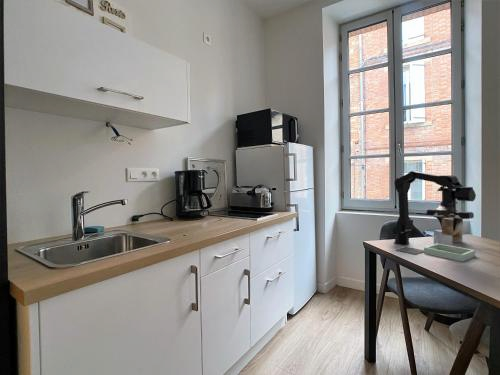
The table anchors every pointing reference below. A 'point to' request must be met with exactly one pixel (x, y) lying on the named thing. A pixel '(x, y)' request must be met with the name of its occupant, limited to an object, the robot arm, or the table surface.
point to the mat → (410, 250)
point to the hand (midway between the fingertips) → (449, 230)
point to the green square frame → (462, 255)
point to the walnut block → (448, 226)
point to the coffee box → (457, 231)
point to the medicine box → (442, 238)
